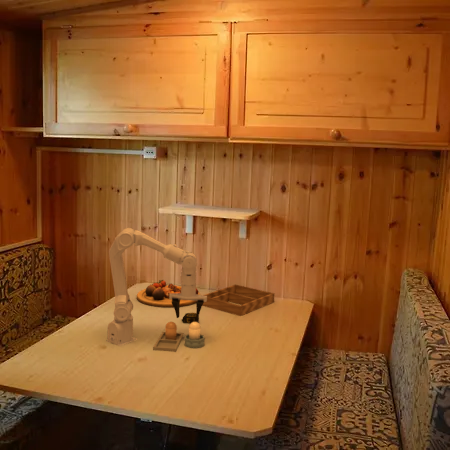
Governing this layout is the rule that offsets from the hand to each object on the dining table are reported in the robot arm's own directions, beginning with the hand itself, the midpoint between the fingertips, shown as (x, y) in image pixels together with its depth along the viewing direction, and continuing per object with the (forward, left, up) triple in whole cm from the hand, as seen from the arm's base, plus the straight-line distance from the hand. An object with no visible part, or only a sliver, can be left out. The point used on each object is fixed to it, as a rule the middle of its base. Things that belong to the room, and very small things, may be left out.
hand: (187, 318), depth 204 cm
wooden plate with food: (+38, +45, -10) cm, 60 cm away
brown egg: (-3, +6, -9) cm, 11 cm away
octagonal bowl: (-1, -5, -10) cm, 11 cm away
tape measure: (+18, +14, -10) cm, 24 cm away
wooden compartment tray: (+54, +14, -10) cm, 57 cm away
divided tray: (-6, +4, -10) cm, 12 cm away
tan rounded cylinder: (-1, -5, -7) cm, 9 cm away
